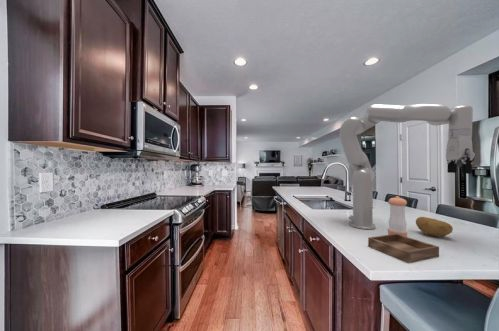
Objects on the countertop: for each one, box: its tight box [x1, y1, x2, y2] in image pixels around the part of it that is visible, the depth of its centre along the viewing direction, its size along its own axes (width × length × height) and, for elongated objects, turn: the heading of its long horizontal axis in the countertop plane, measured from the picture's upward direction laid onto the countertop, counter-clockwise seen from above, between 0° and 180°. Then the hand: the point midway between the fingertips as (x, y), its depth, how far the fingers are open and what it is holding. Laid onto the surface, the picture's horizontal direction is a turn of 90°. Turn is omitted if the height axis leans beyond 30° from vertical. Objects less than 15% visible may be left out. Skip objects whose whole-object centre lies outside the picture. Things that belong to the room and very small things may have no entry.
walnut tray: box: [367, 234, 440, 264], centre depth 83 cm, size 16×16×4 cm
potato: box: [415, 216, 454, 238], centre depth 102 cm, size 10×14×8 cm
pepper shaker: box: [387, 195, 408, 237], centre depth 98 cm, size 7×7×19 cm
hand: (458, 173), depth 95 cm, fingers open, 9 cm apart
